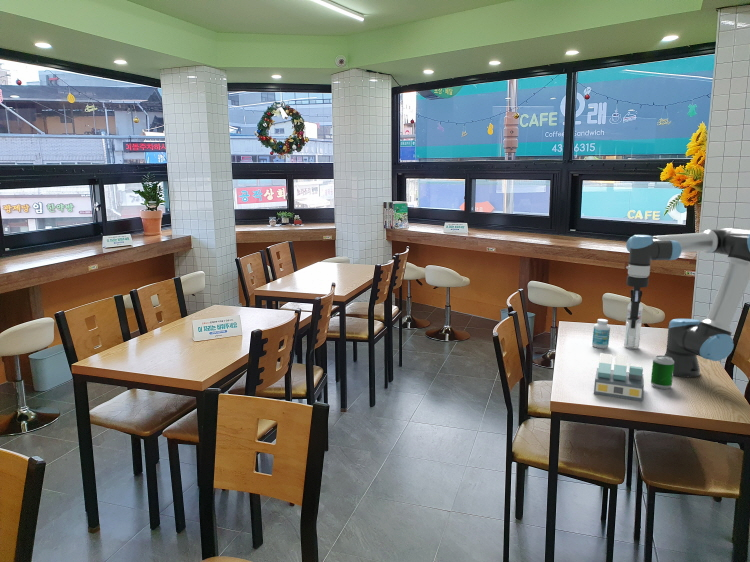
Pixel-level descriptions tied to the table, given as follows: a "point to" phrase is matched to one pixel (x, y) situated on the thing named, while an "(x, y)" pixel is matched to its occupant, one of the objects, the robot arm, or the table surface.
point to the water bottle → (631, 340)
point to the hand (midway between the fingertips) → (631, 335)
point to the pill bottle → (601, 334)
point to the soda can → (662, 372)
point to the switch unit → (620, 386)
